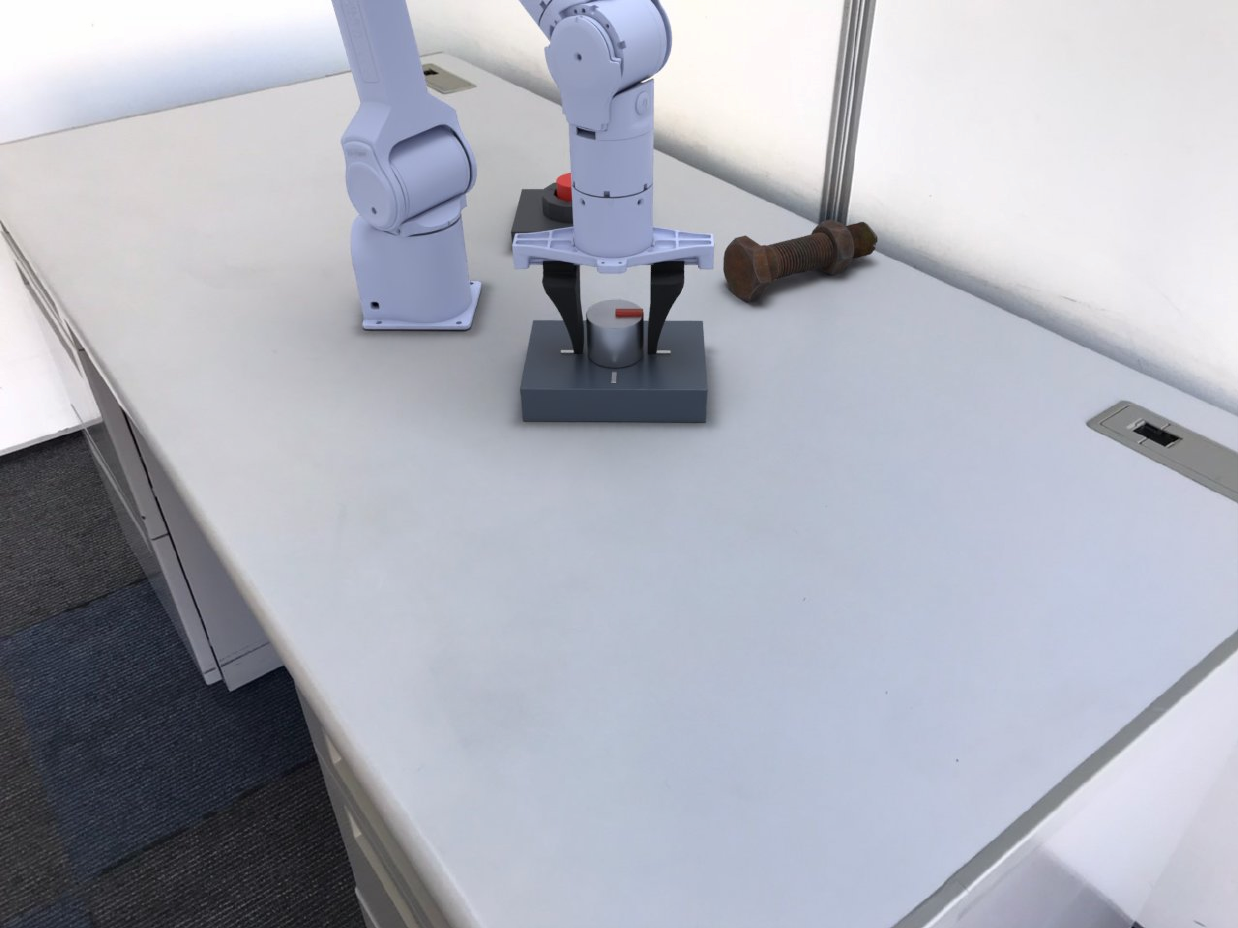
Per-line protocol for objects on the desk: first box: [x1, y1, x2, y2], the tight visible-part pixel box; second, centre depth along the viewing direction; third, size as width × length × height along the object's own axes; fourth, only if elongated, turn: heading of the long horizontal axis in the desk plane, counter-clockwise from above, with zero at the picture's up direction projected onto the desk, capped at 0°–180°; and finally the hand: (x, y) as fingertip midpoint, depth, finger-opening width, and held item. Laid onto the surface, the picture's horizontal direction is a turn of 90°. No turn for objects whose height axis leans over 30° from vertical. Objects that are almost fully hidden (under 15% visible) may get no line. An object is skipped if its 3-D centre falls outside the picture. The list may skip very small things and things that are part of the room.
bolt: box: [722, 219, 879, 303], centre depth 92 cm, size 6×5×15 cm
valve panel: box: [519, 319, 708, 423], centre depth 79 cm, size 14×10×3 cm
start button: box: [555, 172, 572, 201], centre depth 99 cm, size 4×4×2 cm
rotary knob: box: [585, 299, 645, 368], centre depth 77 cm, size 4×4×4 cm
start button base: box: [510, 181, 573, 245], centre depth 101 cm, size 12×10×4 cm
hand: (615, 347), depth 78 cm, fingers open, 5 cm apart
